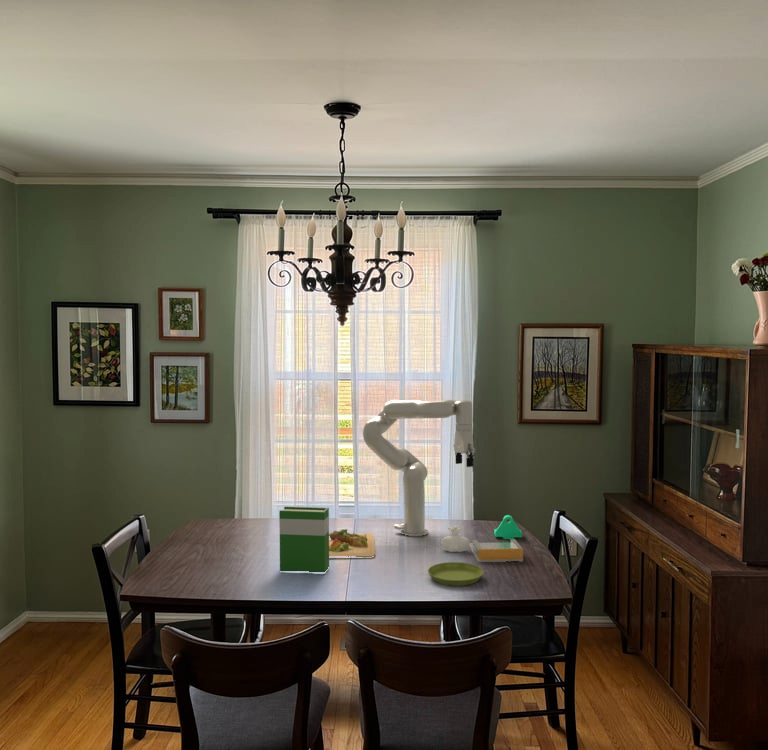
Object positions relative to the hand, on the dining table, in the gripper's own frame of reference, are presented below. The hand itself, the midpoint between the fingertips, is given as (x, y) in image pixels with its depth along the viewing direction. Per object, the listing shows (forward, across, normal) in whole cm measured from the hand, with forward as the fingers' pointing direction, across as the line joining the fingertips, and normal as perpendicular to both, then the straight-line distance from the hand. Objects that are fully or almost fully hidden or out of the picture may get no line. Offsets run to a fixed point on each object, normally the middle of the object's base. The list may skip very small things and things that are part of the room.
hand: (464, 465), depth 315 cm
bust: (+33, +18, -15) cm, 40 cm away
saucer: (+33, +49, -33) cm, 68 cm away
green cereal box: (+32, +17, -82) cm, 89 cm away
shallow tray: (+33, +28, -2) cm, 43 cm away
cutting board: (+33, -7, -55) cm, 64 cm away
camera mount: (+33, +9, +17) cm, 39 cm away
